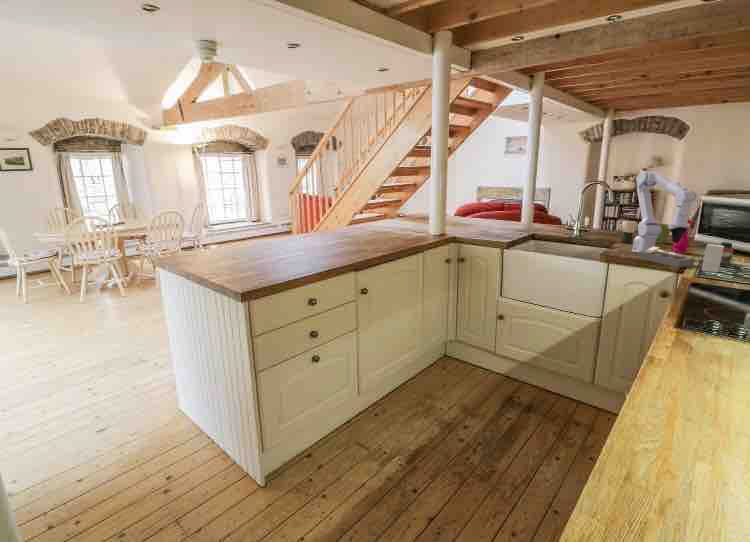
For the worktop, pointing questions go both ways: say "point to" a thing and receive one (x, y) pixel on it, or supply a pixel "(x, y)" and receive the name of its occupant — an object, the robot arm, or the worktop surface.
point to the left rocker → (652, 249)
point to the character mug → (628, 230)
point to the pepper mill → (683, 241)
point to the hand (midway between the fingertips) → (675, 242)
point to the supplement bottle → (726, 254)
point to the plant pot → (663, 234)
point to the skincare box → (712, 258)
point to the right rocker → (675, 254)
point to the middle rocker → (663, 251)
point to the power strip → (667, 259)
